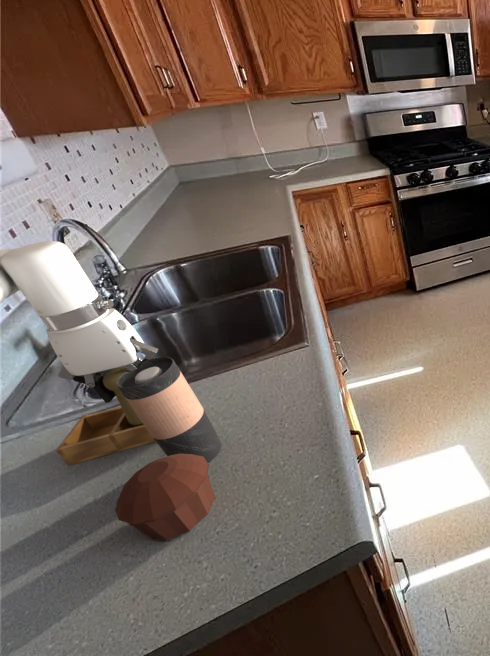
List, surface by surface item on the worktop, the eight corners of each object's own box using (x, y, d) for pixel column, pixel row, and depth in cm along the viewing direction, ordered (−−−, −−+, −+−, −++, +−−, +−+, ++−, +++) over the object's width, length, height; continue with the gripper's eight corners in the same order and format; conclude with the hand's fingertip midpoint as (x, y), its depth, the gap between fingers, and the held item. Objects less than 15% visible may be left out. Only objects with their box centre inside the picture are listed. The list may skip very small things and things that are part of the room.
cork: (122, 428, 78) (88, 385, 73) (138, 405, 84) (107, 364, 78) (157, 419, 80) (127, 376, 74) (171, 397, 85) (143, 356, 79)
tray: (68, 465, 76) (55, 450, 74) (93, 430, 83) (81, 416, 81) (171, 436, 80) (161, 422, 78) (186, 406, 88) (177, 391, 86)
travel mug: (218, 463, 74) (165, 378, 65) (168, 480, 72) (106, 394, 62) (227, 432, 80) (180, 350, 71) (181, 446, 78) (127, 364, 69)
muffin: (120, 558, 60) (82, 517, 56) (161, 489, 70) (131, 449, 65) (208, 538, 62) (177, 496, 57) (236, 473, 72) (212, 433, 67)
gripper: (144, 291, 75) (188, 368, 84) (28, 314, 71) (87, 392, 79) (125, 312, 69) (175, 392, 77) (-4, 339, 65) (64, 421, 73)
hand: (130, 392), depth 78 cm, fingers closed on cork, 5 cm apart
